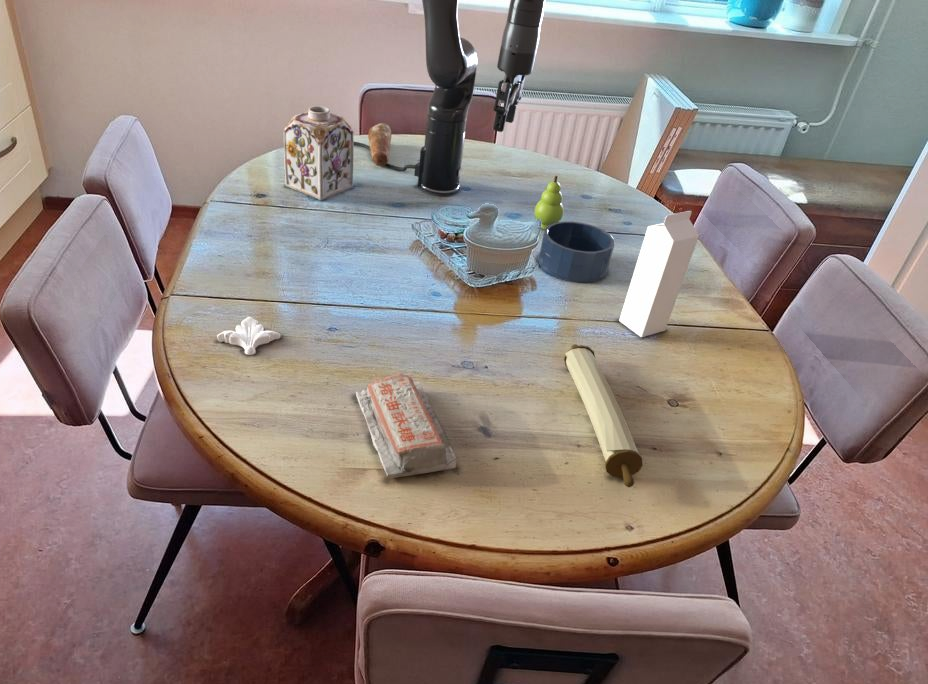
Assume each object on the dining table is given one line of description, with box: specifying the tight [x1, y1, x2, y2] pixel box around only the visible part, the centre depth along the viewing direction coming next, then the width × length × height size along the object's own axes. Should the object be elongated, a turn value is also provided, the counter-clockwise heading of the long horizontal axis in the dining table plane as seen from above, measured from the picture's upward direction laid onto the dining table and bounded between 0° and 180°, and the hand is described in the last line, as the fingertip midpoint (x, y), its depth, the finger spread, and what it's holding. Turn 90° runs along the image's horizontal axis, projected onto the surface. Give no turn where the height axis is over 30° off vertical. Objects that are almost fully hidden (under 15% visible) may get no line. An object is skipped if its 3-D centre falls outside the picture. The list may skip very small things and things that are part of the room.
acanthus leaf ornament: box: [216, 316, 281, 356], centre depth 114 cm, size 8×7×2 cm
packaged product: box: [355, 372, 458, 480], centre depth 98 cm, size 18×5×10 cm
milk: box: [618, 210, 700, 338], centre depth 121 cm, size 6×6×22 cm
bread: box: [367, 122, 392, 167], centre depth 183 cm, size 6×19×6 cm, turn 1°
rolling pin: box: [563, 343, 644, 488], centre depth 104 cm, size 32×6×5 cm, turn 3°
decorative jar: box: [283, 105, 355, 201], centre depth 160 cm, size 12×12×18 cm
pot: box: [538, 220, 616, 283], centre depth 142 cm, size 14×14×6 cm
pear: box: [533, 175, 564, 230], centre depth 155 cm, size 6×6×12 cm
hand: (503, 126), depth 155 cm, fingers open, 8 cm apart
